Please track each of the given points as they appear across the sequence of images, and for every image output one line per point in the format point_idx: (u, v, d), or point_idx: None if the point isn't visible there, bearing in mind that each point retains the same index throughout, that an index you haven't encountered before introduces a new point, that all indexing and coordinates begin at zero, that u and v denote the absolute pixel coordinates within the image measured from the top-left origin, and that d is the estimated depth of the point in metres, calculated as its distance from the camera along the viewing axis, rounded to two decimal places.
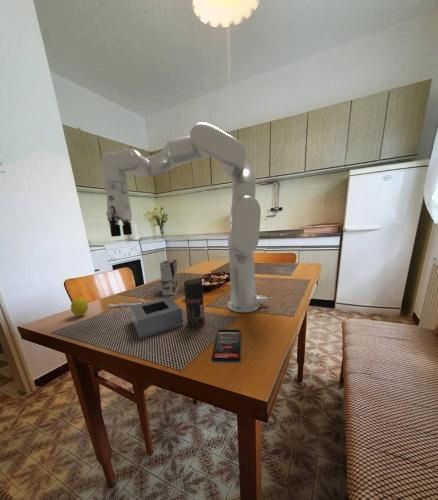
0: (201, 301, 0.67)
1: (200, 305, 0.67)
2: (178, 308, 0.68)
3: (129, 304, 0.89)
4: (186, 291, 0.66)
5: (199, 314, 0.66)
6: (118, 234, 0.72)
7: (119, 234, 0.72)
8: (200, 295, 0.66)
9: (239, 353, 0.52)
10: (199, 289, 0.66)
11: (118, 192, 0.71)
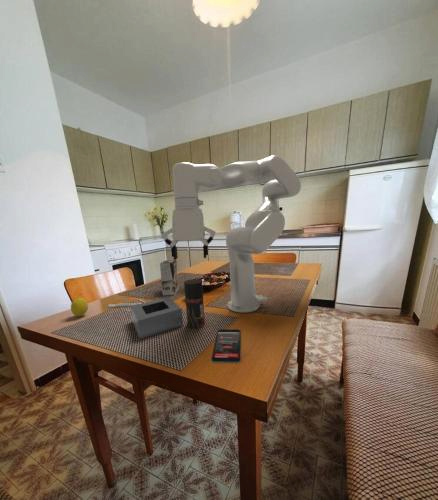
0: (201, 301, 0.67)
1: (200, 305, 0.67)
2: (178, 308, 0.68)
3: (129, 304, 0.89)
4: (186, 291, 0.66)
5: (199, 314, 0.66)
6: None
7: None
8: (200, 295, 0.66)
9: (239, 353, 0.52)
10: (199, 289, 0.66)
11: None
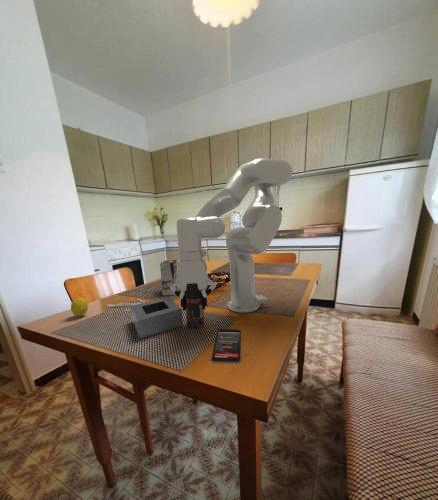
0: (201, 301, 0.67)
1: (200, 305, 0.67)
2: (178, 308, 0.68)
3: (128, 304, 0.89)
4: (186, 291, 0.66)
5: (199, 314, 0.67)
6: None
7: None
8: (200, 295, 0.66)
9: (239, 353, 0.52)
10: None
11: None
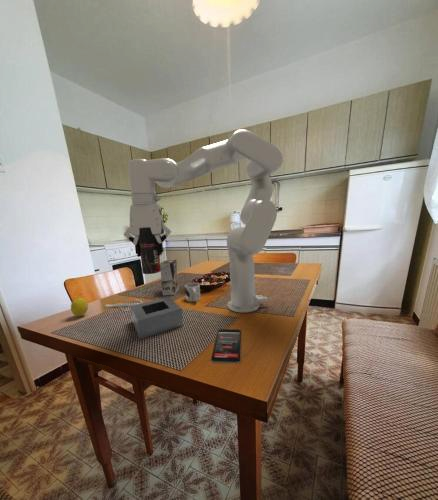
0: (155, 247, 0.66)
1: (154, 250, 0.66)
2: (178, 308, 0.68)
3: (126, 304, 0.88)
4: (139, 236, 0.65)
5: (153, 259, 0.66)
6: (161, 252, 0.69)
7: (161, 252, 0.69)
8: (154, 240, 0.66)
9: (239, 353, 0.52)
10: (152, 234, 0.65)
11: None
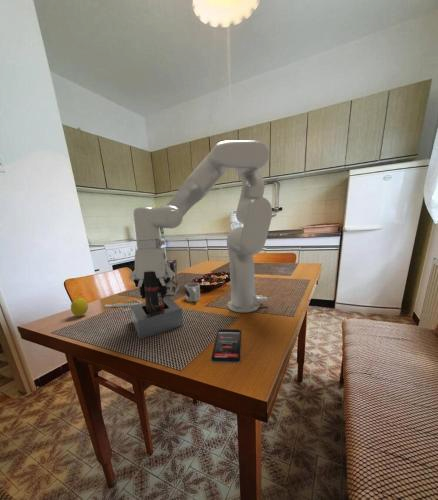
0: (159, 289, 0.68)
1: (158, 293, 0.68)
2: (178, 308, 0.68)
3: (125, 304, 0.88)
4: (144, 279, 0.67)
5: (157, 302, 0.68)
6: None
7: None
8: (158, 283, 0.68)
9: (239, 353, 0.52)
10: (156, 277, 0.67)
11: None
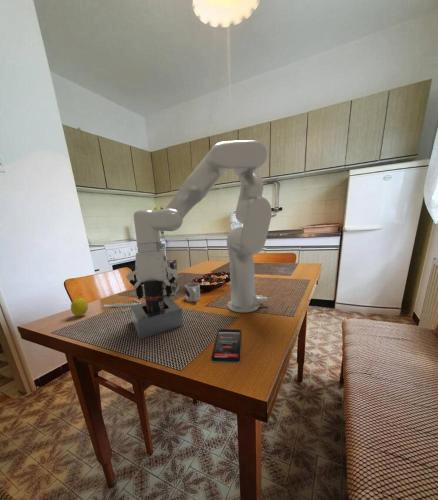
0: (160, 298, 0.69)
1: (159, 302, 0.68)
2: (178, 308, 0.68)
3: (124, 304, 0.88)
4: (145, 289, 0.67)
5: None
6: None
7: None
8: (159, 292, 0.68)
9: (239, 353, 0.52)
10: (157, 287, 0.67)
11: None
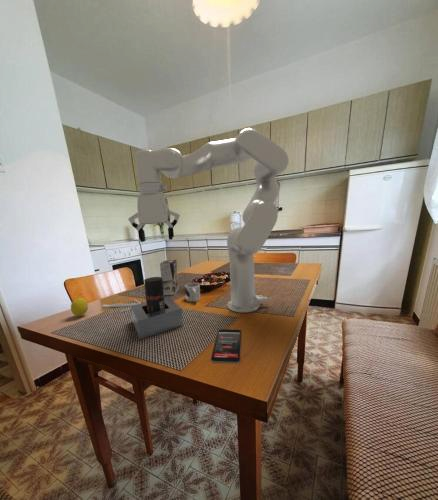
0: (161, 298, 0.69)
1: (160, 302, 0.68)
2: (178, 308, 0.68)
3: (123, 304, 0.88)
4: (146, 289, 0.68)
5: None
6: (172, 237, 0.72)
7: (172, 237, 0.72)
8: (159, 292, 0.68)
9: (239, 353, 0.52)
10: (158, 286, 0.68)
11: None
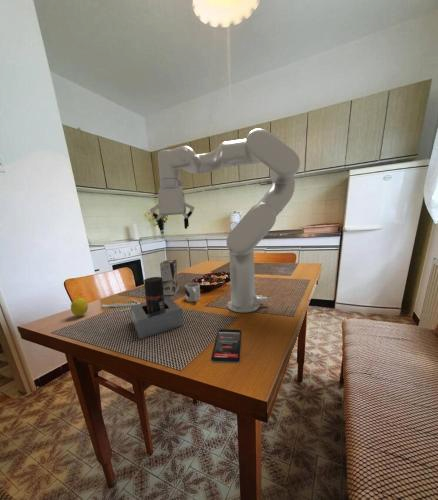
0: (161, 298, 0.69)
1: (159, 302, 0.68)
2: (178, 308, 0.68)
3: (122, 304, 0.88)
4: (145, 289, 0.68)
5: None
6: None
7: None
8: (159, 292, 0.68)
9: (239, 353, 0.52)
10: (158, 286, 0.68)
11: None
